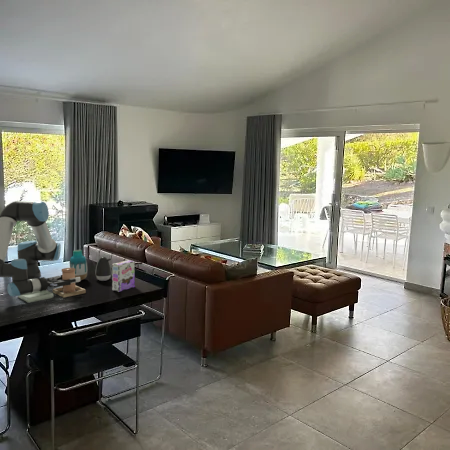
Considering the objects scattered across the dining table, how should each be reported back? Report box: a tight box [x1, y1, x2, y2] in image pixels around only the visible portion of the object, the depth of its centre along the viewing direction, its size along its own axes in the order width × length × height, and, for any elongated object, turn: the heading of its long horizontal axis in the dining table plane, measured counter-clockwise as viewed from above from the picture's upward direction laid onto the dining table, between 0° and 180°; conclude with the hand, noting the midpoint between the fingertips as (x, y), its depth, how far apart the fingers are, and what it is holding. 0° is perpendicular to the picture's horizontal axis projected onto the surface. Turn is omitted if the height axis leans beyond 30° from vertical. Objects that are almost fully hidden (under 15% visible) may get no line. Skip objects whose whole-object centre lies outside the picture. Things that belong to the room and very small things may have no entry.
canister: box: [61, 267, 76, 294], centre depth 262 cm, size 8×8×14 cm
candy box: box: [111, 259, 136, 293], centre depth 272 cm, size 14×6×16 cm, turn 148°
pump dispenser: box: [95, 256, 112, 282], centre depth 292 cm, size 10×10×15 cm
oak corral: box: [52, 284, 87, 298], centre depth 263 cm, size 14×14×2 cm
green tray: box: [17, 289, 54, 304], centre depth 253 cm, size 14×14×2 cm
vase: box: [69, 249, 88, 281], centre depth 289 cm, size 11×11×19 cm
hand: (76, 277), depth 265 cm, fingers closed on canister, 7 cm apart
